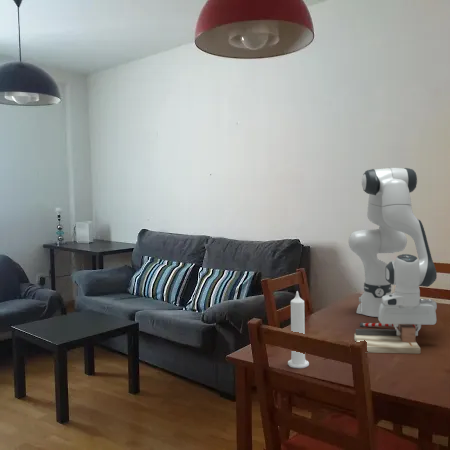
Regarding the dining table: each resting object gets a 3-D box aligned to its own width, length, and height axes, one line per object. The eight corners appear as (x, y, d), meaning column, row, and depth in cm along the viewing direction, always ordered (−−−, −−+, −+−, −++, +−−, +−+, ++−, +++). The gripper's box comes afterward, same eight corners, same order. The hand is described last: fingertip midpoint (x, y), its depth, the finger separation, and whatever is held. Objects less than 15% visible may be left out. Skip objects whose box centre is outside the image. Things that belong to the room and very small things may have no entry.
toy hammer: (357, 331, 203) (357, 315, 203) (362, 323, 214) (362, 309, 214) (416, 337, 194) (416, 321, 193) (419, 328, 204) (419, 313, 204)
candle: (306, 360, 170) (305, 288, 168) (310, 368, 163) (310, 293, 161) (286, 361, 170) (285, 289, 168) (289, 368, 163) (288, 294, 161)
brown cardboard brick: (398, 336, 188) (398, 323, 187) (411, 336, 187) (411, 323, 187) (402, 341, 181) (402, 328, 180) (415, 342, 180) (415, 328, 180)
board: (354, 338, 193) (354, 328, 193) (410, 339, 190) (410, 329, 189) (359, 352, 177) (359, 341, 177) (420, 353, 174) (420, 342, 174)
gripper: (434, 297, 184) (434, 333, 185) (377, 296, 187) (377, 332, 189) (439, 301, 178) (438, 338, 179) (380, 300, 181) (380, 337, 182)
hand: (406, 335), depth 184 cm, fingers closed on brown cardboard brick, 4 cm apart
